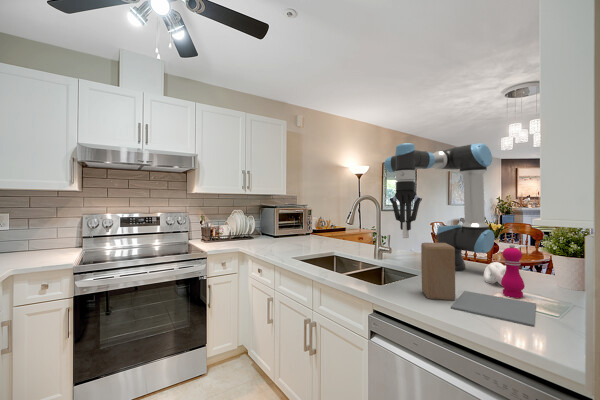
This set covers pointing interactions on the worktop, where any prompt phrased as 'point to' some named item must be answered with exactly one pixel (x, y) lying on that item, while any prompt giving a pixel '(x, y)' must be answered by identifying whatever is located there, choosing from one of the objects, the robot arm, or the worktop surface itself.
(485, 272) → the white decorative knot
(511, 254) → the pepper mill
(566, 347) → the worktop surface
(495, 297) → the mat
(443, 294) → the block
